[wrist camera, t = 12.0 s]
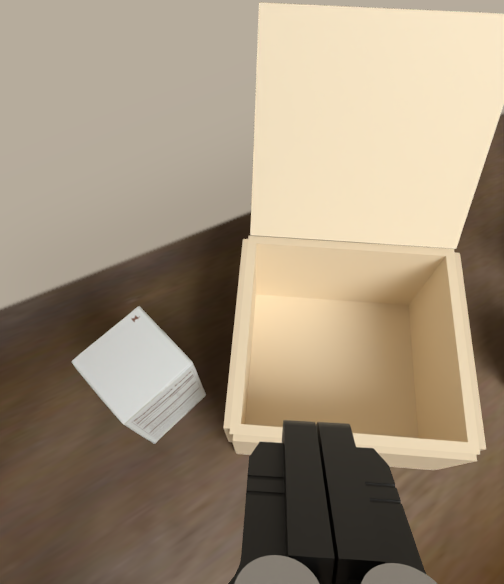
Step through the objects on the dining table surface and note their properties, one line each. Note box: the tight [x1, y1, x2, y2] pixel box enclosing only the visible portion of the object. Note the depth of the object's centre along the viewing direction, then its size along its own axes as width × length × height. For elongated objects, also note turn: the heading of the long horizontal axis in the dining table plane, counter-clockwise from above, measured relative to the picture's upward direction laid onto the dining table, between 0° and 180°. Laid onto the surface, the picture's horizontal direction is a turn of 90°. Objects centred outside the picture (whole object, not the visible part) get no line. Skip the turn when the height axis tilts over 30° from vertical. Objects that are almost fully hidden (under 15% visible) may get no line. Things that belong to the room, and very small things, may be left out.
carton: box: [224, 236, 486, 470], centre depth 44 cm, size 20×18×12 cm
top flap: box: [250, 2, 504, 249], centre depth 37 cm, size 19×18×1 cm
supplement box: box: [72, 306, 206, 444], centre depth 43 cm, size 7×7×13 cm
